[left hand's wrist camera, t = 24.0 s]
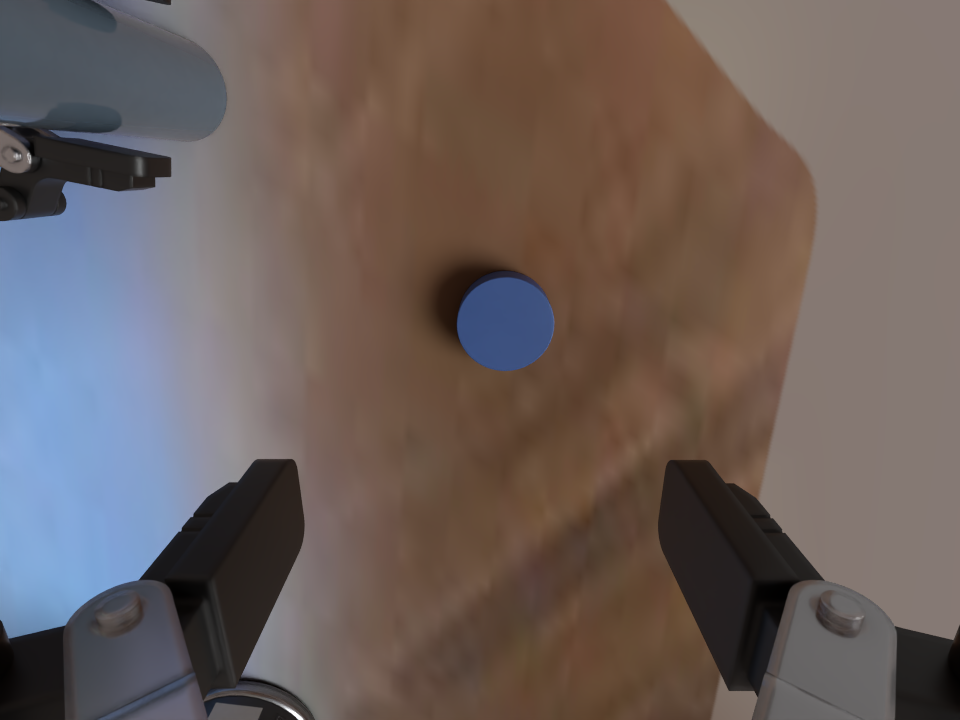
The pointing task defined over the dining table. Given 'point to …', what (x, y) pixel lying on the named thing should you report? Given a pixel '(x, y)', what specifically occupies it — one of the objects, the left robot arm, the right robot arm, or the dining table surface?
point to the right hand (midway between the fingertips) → (156, 80)
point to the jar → (103, 73)
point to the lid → (505, 321)
